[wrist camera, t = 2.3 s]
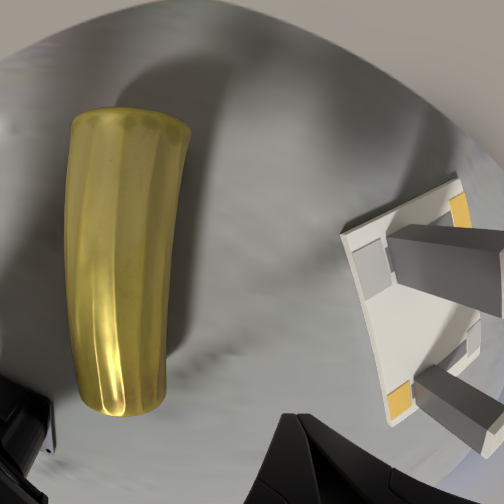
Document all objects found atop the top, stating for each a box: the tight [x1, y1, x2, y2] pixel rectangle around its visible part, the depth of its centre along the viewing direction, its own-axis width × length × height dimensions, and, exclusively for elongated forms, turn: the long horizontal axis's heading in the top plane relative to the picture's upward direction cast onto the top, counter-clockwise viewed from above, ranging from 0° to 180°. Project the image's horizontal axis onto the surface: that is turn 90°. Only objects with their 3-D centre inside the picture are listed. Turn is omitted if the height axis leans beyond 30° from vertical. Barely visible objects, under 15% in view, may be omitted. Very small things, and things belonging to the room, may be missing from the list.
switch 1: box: [386, 224, 504, 319], centre depth 14 cm, size 2×4×10 cm
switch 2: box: [413, 364, 504, 459], centre depth 17 cm, size 2×4×10 cm
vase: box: [64, 107, 191, 417], centre depth 14 cm, size 6×6×14 cm
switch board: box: [340, 178, 481, 427], centre depth 21 cm, size 13×19×1 cm
